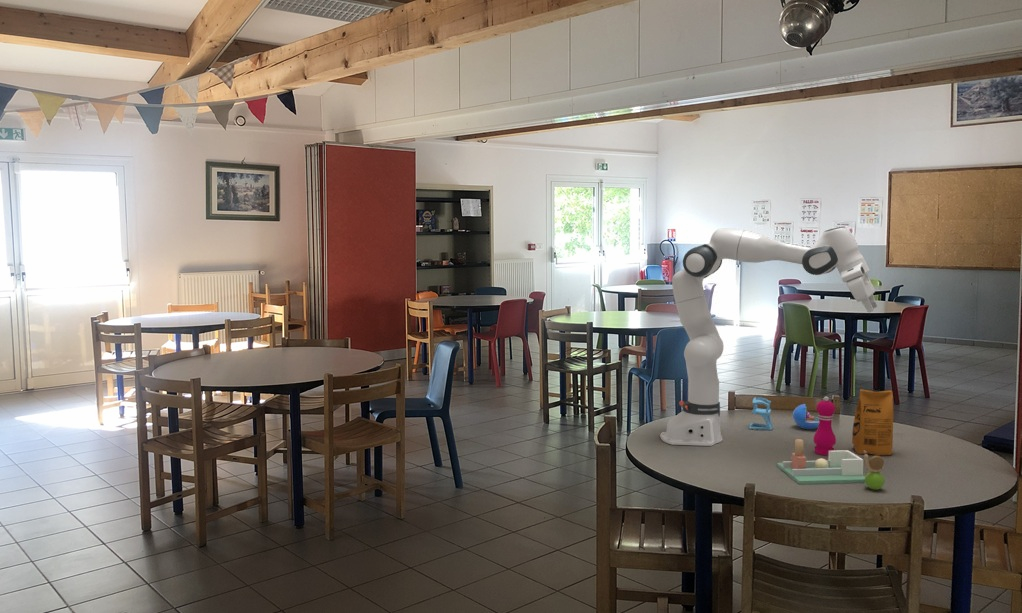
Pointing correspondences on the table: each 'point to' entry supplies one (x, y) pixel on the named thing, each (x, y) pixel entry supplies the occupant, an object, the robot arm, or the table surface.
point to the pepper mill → (824, 428)
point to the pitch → (828, 470)
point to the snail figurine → (874, 472)
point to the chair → (762, 414)
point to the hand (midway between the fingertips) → (873, 309)
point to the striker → (798, 456)
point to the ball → (821, 463)
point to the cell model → (805, 418)
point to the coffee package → (873, 423)
